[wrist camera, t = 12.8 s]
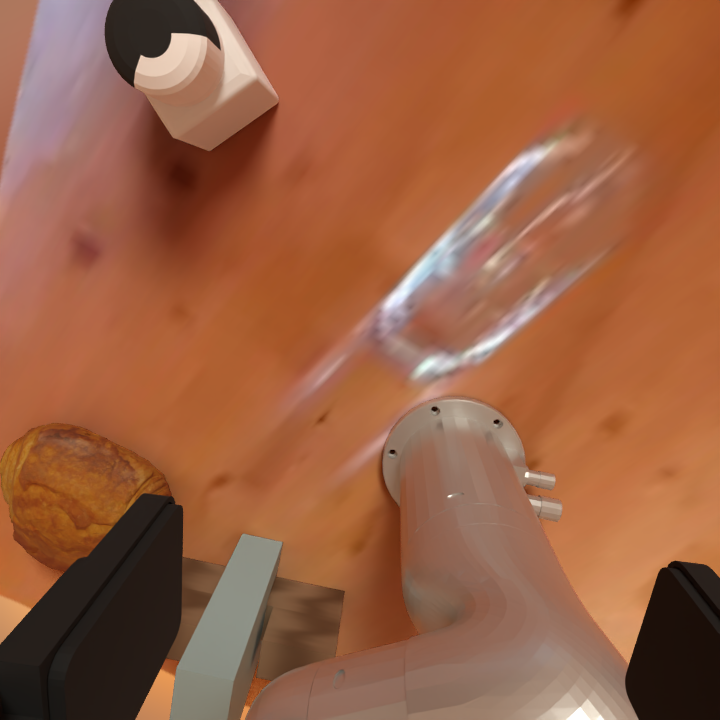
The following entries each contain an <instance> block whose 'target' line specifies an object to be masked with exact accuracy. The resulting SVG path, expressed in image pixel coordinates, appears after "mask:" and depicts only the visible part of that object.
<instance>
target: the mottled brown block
mask: <svg viewBox="0 0 720 720" xmlns="http://www.w3.org/2000/svg"><path fill="white" fill-rule="evenodd" d="M225 569H226V566H222V565H217V564H213V563H208V562H203V561H198V560H194V559H189V558H184V557H182V616H181V624H180V628H179V631H178V634H177V636H176V639H175V641H174V643H173V645H172V647H171V649H170V651H169V653H168V655H167V657H166V658H168V659H172V660H177V661H180V660H181V658H182V656H183V654H184V652H185V650H186V648H187V646H188V644H189V642H190V640H191V638H192V636H193V634H194V632H195V630H196V627H197V625H198V623H199V621H200V619H201V617H202V615H203V613H204V611H205V609H206V607H207V605H208V603H209V601H210V599H211V597H212V595H213V593H214V591H215V589H216V587H217V585H218V583H219V581H220V579H221V577H222V575H223V573H224V571H225ZM343 598H344V591H340V590H336V589H331V588H326V587H322V586H317V585H312V584H307V583H303V582H298V581H293V580H288V579H284V578H279V577H275V580H274V583H273V586H272V589H271V592H270V594H269V597H268V602H267V607H266V613H265V618H264V624H263V629H262V635H261V641H262V646H261V652H260V658H259V663H258V669H257V675H256V678H261V679H266V680H270V681H273V680H274V679H276V678H277V677H279V676H281V675H282V674H284V673H286V672H288V671H291V670H293V669H296V668H299V667H302V666H305V665H308V664H311V663H315V662H319V661H323V660H326V659H330V658H334V657H335V656H336V649H337V641H338V634H339V627H340V620H341V613H342V606H343Z"/></svg>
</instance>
